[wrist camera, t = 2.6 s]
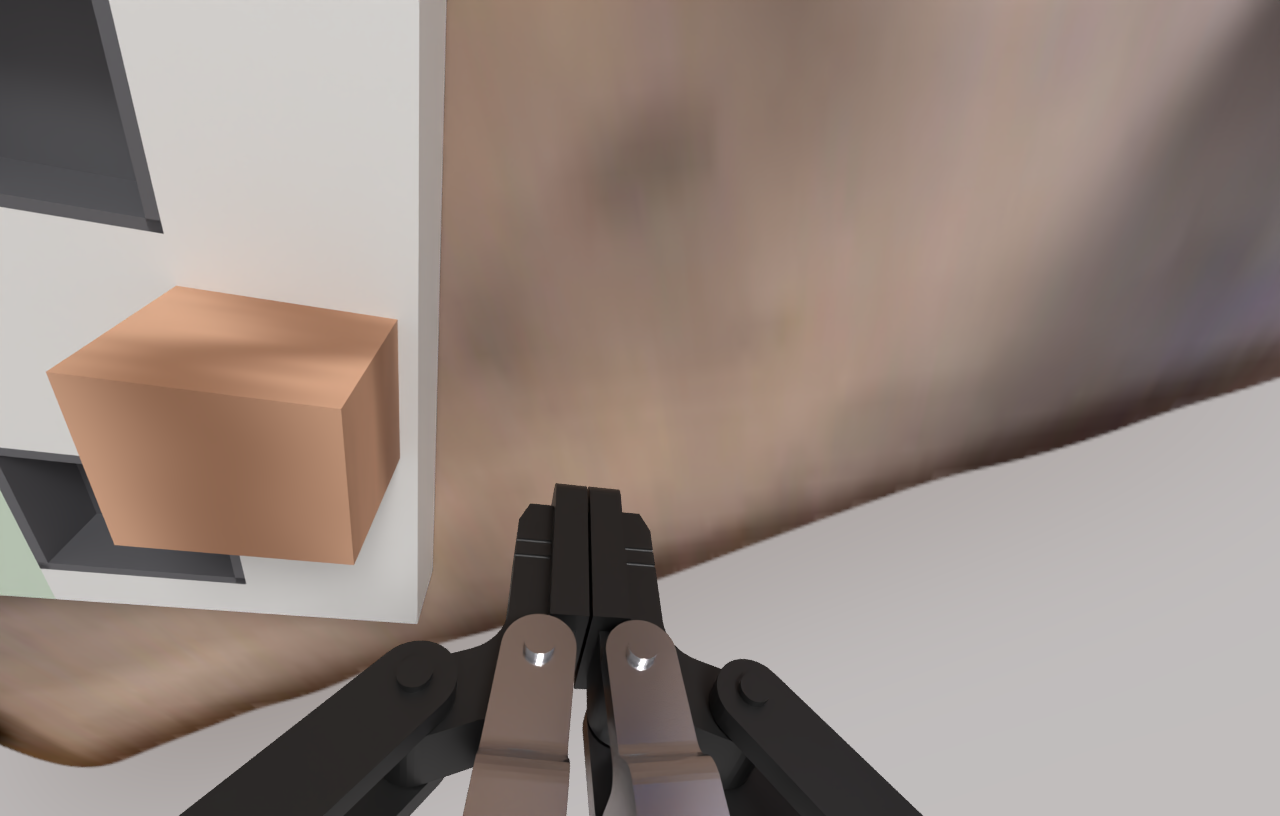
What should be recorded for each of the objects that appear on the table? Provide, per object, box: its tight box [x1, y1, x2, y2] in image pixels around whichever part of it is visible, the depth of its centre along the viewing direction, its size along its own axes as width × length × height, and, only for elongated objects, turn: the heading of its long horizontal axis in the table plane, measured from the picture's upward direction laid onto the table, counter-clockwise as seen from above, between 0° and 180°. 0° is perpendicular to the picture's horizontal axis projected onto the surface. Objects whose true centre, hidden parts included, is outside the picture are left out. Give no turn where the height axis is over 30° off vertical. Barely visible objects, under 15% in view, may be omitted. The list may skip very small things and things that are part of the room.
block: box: [46, 286, 400, 565], centre depth 14 cm, size 5×4×4 cm
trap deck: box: [0, 0, 447, 624], centre depth 15 cm, size 20×20×4 cm
